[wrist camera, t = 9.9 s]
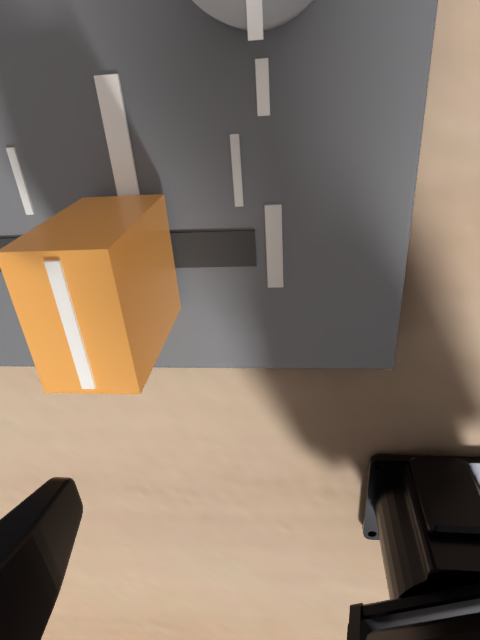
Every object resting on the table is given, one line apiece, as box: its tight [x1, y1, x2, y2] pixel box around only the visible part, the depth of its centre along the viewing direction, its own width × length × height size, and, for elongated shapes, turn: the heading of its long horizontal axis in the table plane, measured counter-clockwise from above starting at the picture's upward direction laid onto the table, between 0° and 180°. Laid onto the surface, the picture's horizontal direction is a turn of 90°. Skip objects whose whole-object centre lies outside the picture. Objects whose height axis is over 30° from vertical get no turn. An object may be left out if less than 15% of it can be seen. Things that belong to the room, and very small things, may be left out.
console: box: [0, 0, 438, 369], centre depth 16 cm, size 18×26×4 cm
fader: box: [0, 194, 181, 394], centre depth 15 cm, size 4×3×6 cm, turn 4°
